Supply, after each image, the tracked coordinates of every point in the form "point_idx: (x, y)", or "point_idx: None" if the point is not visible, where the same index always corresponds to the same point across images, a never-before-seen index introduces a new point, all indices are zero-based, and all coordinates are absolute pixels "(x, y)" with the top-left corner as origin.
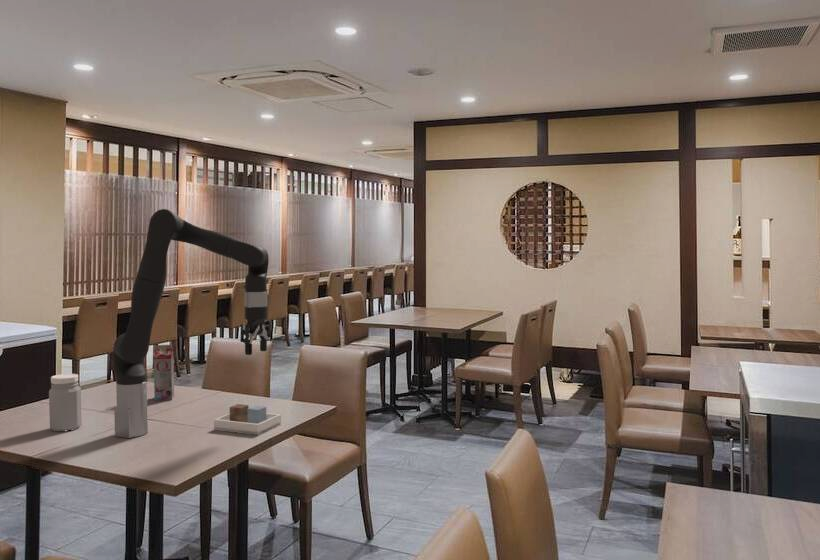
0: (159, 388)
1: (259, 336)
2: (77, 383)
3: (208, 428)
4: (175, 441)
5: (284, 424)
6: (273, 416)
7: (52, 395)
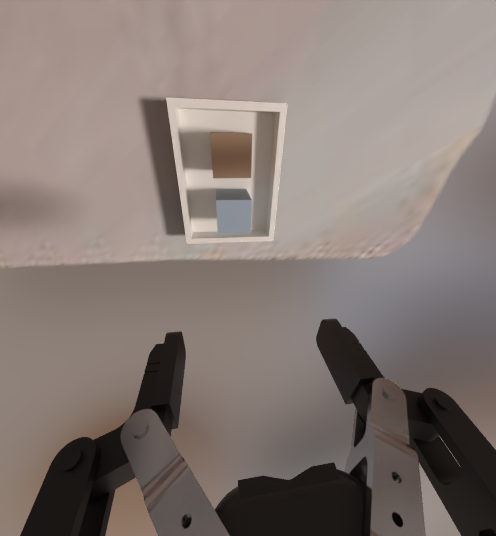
0: None
1: (369, 417)
2: None
3: (175, 69)
4: (19, 53)
5: None
6: (268, 224)
7: None
